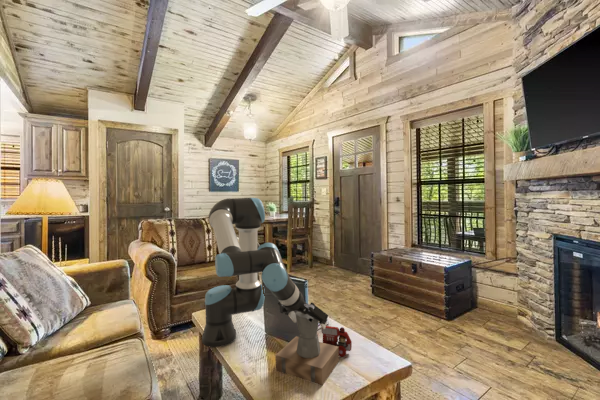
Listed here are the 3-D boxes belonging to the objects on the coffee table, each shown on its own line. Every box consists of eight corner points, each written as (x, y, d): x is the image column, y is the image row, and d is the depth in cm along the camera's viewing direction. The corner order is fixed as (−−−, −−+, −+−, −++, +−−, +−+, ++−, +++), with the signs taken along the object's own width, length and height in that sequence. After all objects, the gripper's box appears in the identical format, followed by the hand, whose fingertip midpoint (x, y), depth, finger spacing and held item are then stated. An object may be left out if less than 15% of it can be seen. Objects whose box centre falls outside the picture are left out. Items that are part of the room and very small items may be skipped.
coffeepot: (324, 360, 106) (323, 310, 106) (298, 363, 105) (297, 313, 104) (315, 339, 121) (315, 296, 121) (293, 341, 120) (292, 297, 119)
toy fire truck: (350, 358, 118) (350, 332, 117) (320, 354, 121) (319, 329, 121) (352, 349, 124) (352, 325, 124) (323, 345, 128) (323, 322, 127)
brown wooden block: (275, 370, 110) (275, 355, 110) (296, 350, 124) (296, 336, 124) (322, 385, 101) (321, 368, 101) (338, 361, 116) (338, 346, 115)
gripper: (256, 300, 104) (280, 325, 118) (318, 312, 93) (336, 339, 107) (264, 281, 109) (286, 308, 123) (325, 291, 97) (341, 318, 111)
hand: (310, 322), depth 115 cm, fingers open, 12 cm apart
